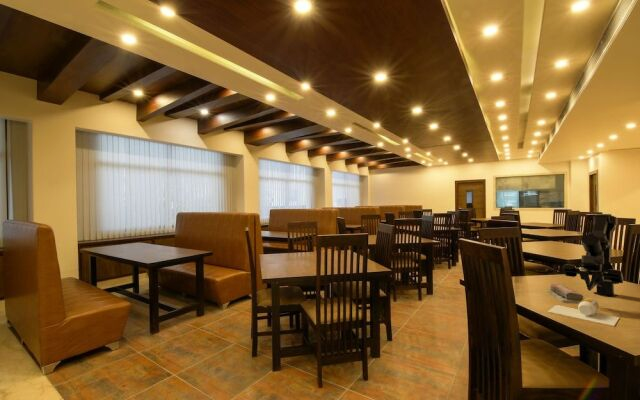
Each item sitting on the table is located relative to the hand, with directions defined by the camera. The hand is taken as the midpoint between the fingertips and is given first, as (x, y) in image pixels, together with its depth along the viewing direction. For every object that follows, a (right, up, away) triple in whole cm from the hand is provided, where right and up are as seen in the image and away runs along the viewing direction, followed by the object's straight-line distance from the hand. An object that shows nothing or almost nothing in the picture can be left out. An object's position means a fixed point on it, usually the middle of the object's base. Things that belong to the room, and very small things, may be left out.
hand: (588, 289), depth 125 cm
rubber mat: (-6, -9, -4) cm, 12 cm away
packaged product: (+6, -10, +19) cm, 22 cm away
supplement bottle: (0, -6, 0) cm, 6 cm away
